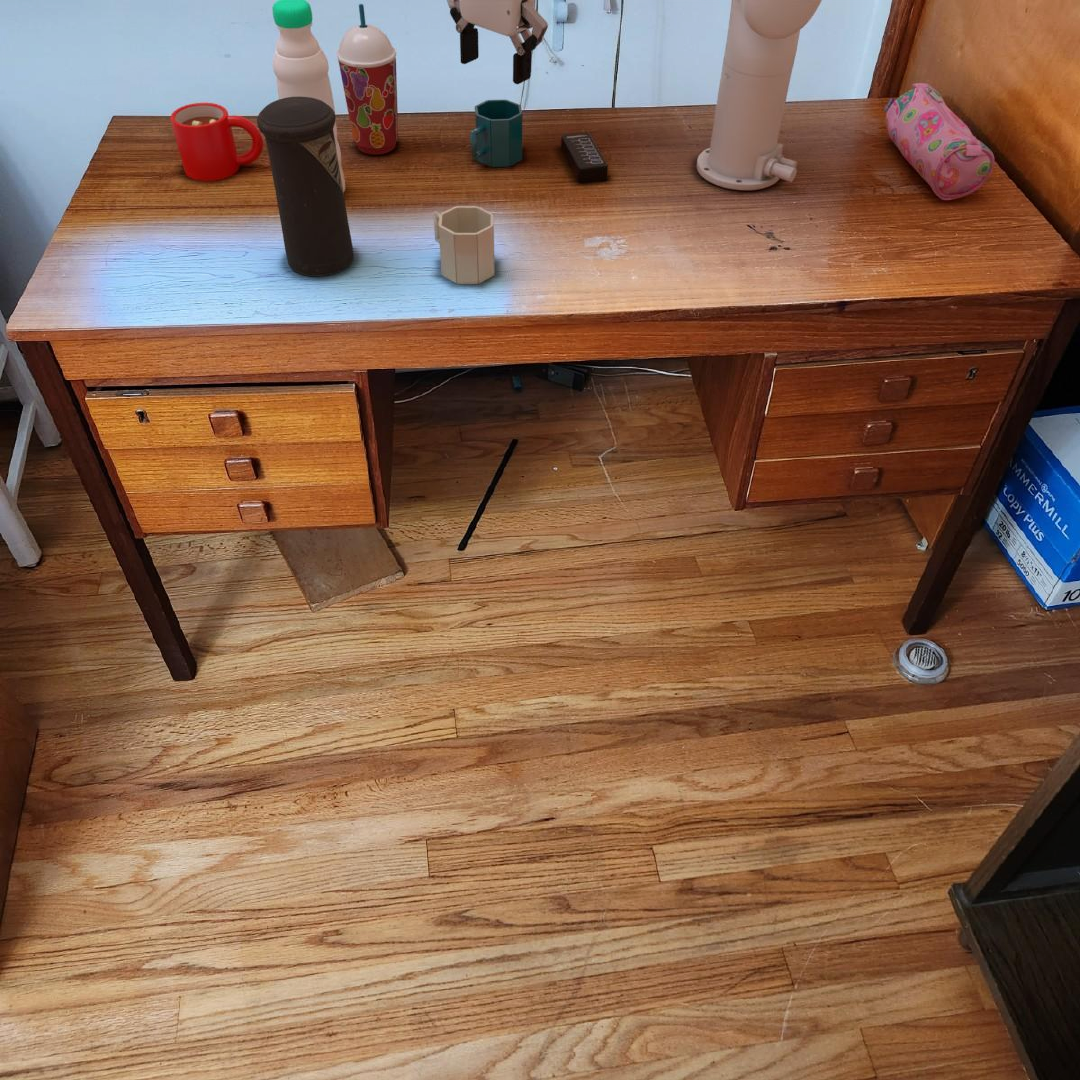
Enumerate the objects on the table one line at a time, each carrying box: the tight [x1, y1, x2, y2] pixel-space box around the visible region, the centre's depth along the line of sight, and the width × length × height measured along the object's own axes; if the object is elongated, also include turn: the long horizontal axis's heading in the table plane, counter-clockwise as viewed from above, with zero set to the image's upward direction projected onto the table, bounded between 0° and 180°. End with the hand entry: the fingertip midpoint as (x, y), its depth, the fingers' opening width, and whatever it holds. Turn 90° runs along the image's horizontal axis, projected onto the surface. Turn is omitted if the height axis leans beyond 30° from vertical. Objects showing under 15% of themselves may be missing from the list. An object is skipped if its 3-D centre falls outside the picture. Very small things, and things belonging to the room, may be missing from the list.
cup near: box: [432, 205, 496, 285], centre depth 122 cm, size 9×7×7 cm
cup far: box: [469, 99, 523, 168], centre depth 142 cm, size 9×7×7 cm
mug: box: [170, 102, 264, 182], centre depth 138 cm, size 8×12×8 cm, turn 97°
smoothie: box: [336, 3, 399, 156], centre depth 139 cm, size 8×8×20 cm
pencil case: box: [883, 82, 995, 201], centre depth 141 cm, size 21×9×9 cm, turn 5°
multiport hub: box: [560, 131, 609, 184], centre depth 143 cm, size 4×11×2 cm, turn 13°
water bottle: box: [272, 0, 346, 193], centre depth 127 cm, size 7×7×25 cm
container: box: [256, 97, 355, 277], centre depth 118 cm, size 9×9×20 cm
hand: (495, 70), depth 136 cm, fingers open, 9 cm apart
